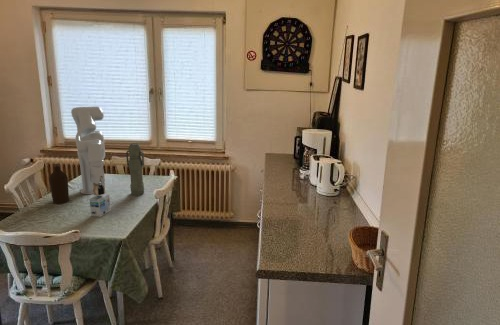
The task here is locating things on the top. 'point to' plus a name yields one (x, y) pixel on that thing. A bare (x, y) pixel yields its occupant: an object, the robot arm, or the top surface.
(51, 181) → the olive oil
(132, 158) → the thermos
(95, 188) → the beech block
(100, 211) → the light bulb box
